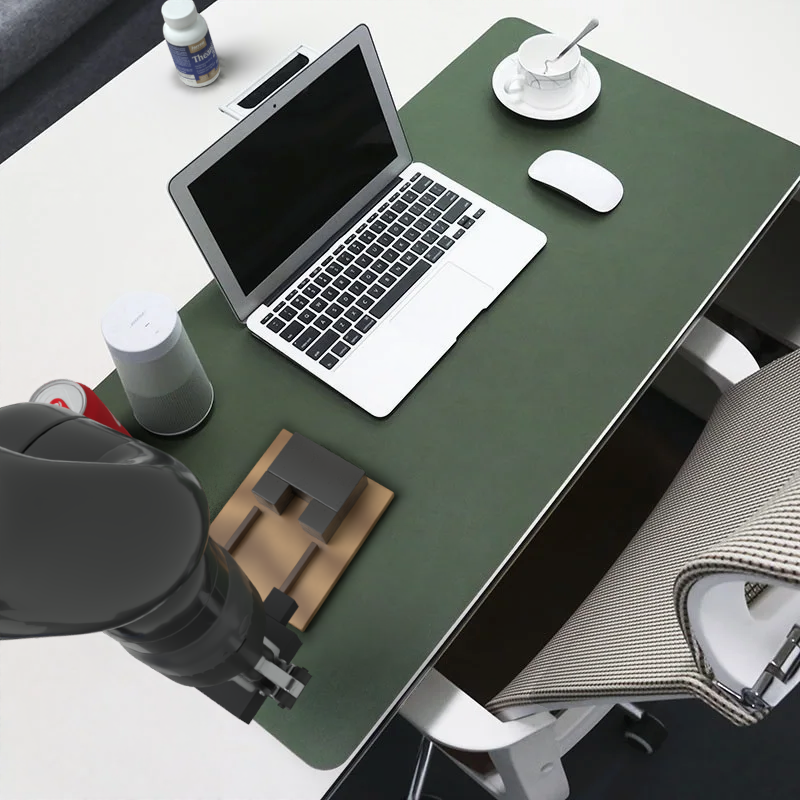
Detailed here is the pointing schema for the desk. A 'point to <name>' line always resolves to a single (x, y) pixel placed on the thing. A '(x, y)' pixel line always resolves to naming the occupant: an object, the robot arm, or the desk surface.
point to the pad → (288, 642)
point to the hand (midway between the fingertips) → (249, 664)
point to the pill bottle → (190, 43)
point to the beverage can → (77, 401)
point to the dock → (293, 542)
